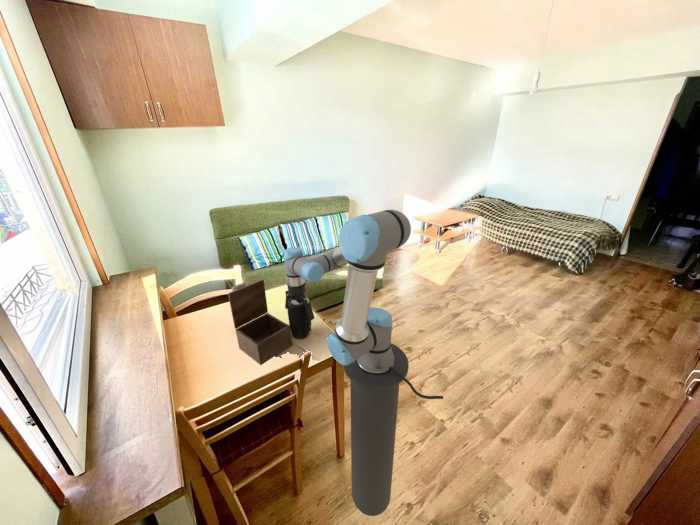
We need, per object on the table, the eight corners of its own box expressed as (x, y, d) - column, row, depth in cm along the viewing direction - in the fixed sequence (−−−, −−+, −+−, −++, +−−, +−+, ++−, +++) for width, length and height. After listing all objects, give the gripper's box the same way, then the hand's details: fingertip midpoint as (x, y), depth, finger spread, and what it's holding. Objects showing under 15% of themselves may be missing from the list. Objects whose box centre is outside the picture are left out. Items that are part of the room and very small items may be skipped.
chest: (292, 344, 122) (290, 325, 118) (260, 365, 111) (257, 345, 107) (270, 330, 131) (267, 312, 127) (239, 348, 120) (235, 329, 116)
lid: (263, 279, 120) (253, 274, 125) (228, 293, 109) (219, 287, 113) (268, 312, 127) (258, 306, 132) (235, 328, 116) (226, 321, 120)
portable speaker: (295, 327, 133) (291, 292, 124) (313, 330, 131) (310, 295, 122) (287, 339, 125) (282, 303, 116) (306, 342, 123) (303, 306, 114)
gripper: (321, 287, 114) (323, 332, 122) (286, 273, 127) (291, 315, 135) (307, 294, 108) (311, 341, 117) (273, 279, 121) (278, 322, 130)
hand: (300, 327), depth 126 cm, fingers closed on portable speaker, 9 cm apart
